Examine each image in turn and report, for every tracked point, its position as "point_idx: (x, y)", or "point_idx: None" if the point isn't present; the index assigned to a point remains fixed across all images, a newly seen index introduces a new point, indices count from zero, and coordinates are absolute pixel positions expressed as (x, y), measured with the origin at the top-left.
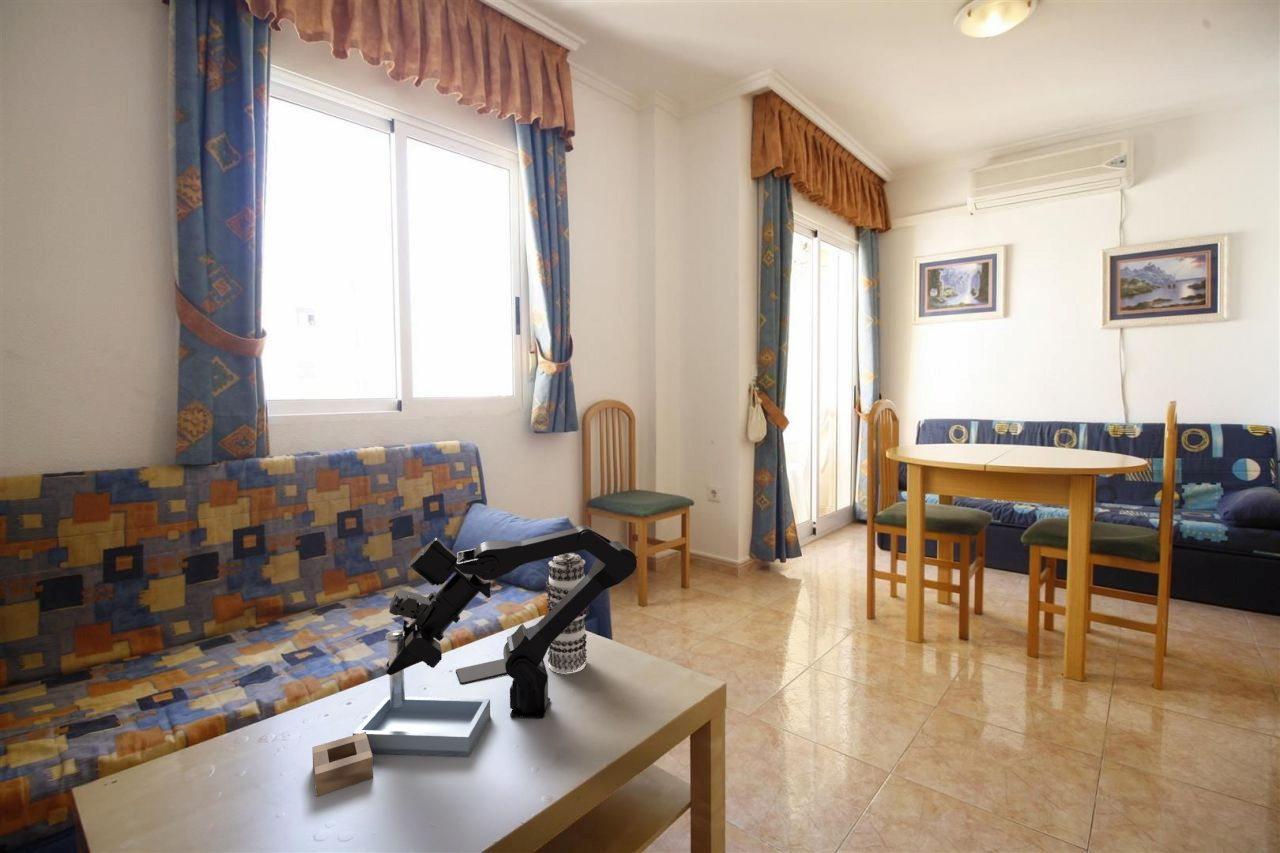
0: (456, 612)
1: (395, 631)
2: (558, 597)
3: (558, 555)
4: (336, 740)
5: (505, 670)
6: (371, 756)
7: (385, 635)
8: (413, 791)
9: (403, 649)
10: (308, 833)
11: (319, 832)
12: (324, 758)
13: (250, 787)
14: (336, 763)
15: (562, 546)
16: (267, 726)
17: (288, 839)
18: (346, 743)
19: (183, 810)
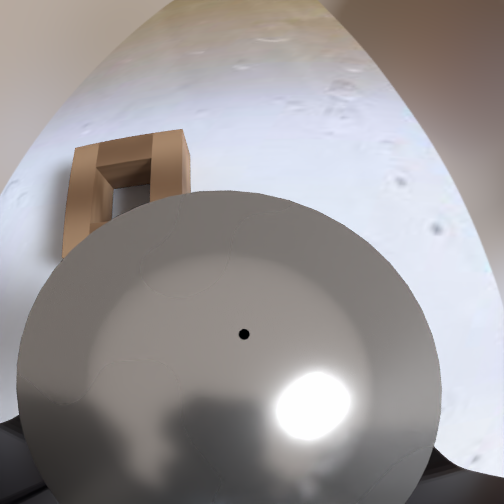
0: None
1: (358, 440)
2: None
3: None
4: (180, 175)
5: None
6: (64, 255)
7: (217, 193)
8: (20, 335)
9: (8, 422)
10: (25, 172)
11: (17, 186)
12: (118, 156)
13: (188, 79)
14: (84, 182)
15: None
16: (384, 93)
17: (32, 150)
18: (151, 198)
19: (184, 31)
